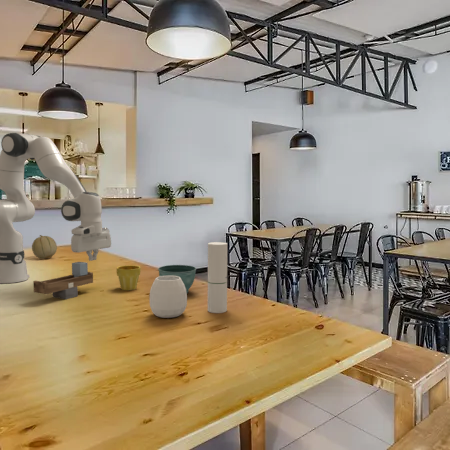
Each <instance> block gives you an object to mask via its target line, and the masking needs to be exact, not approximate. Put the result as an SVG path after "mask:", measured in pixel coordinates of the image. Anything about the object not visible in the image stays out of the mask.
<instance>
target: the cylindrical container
mask: <svg viewBox="0 0 450 450" xmlns="http://www.w3.org/2000/svg"><path fill="white" fill-rule="evenodd" d="M227 311H228V242H222V241H221V242H220V241H215V242H214V241H213V242H211V241H210V242H208V243H207V312H209V313H212V314H223V313H226V312H227Z"/></svg>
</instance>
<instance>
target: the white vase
mask: <svg viewBox="0 0 450 450" xmlns="http://www.w3.org/2000/svg"><path fill="white" fill-rule="evenodd" d="M149 290H150V291H149V307H150V309H151V312H152V314H153V315H155V316H156V317H158V318H163V319H164V318H167V319H169V318H170V319H171V318H177V317H180V316H181V315H182V314H183V313H184V312H185V310H186V308H187V305H188V295H187V294H188V293H187V292H186V288H185V285H184V283H183V281H182V279H181V278H180V277H178V276H170V275H168V276H160V277H159V276H157V277H155V279H154V280H153V283H152V284H151V287H150V289H149Z"/></svg>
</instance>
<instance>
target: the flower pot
mask: <svg viewBox="0 0 450 450" xmlns="http://www.w3.org/2000/svg"><path fill="white" fill-rule="evenodd" d="M157 270H158V275H159V276H158V277H160V276H168V275H170V276H178V277H180V278H181V279H182V281H183V283H184V285H185V288H186V292H187V294H188V293H189V290H190V289H191V287H192V285H193V284H194V282H195V277H196V272H197V267H196V266H194V265H187V264H186V265H185V264H170V265H163V266H160V267H158V268H157Z"/></svg>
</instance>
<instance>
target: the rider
mask: <svg viewBox="0 0 450 450" xmlns="http://www.w3.org/2000/svg"><path fill="white" fill-rule="evenodd" d="M88 269H89V268H88V262H84V261H75V262H71V275H74V278H75V277H79V276H84V275H87V274H88V272H89V271H88Z"/></svg>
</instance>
